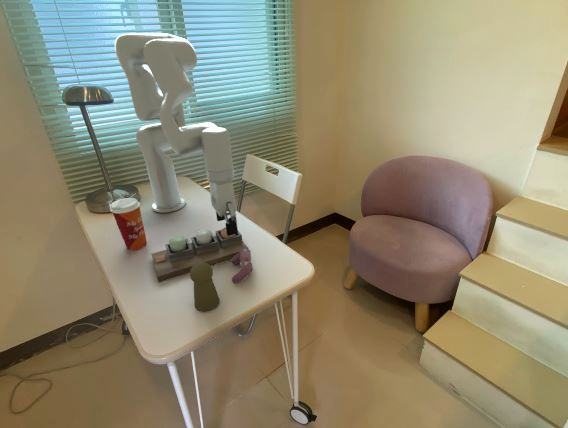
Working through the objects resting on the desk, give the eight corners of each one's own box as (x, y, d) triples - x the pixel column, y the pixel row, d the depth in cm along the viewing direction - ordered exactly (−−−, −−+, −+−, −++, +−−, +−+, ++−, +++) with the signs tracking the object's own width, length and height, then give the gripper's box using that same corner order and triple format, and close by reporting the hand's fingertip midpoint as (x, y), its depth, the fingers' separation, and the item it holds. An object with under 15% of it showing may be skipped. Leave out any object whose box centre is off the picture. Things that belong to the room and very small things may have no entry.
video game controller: (246, 287, 84) (256, 267, 81) (230, 283, 82) (240, 262, 80) (244, 265, 92) (253, 246, 90) (229, 261, 91) (238, 241, 88)
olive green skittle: (218, 311, 74) (212, 274, 69) (192, 313, 74) (184, 276, 69) (220, 293, 80) (215, 258, 74) (196, 295, 79) (189, 259, 74)
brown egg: (220, 237, 99) (218, 229, 97) (233, 233, 100) (232, 225, 99) (224, 244, 95) (223, 235, 94) (238, 240, 97) (237, 231, 95)
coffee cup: (140, 253, 97) (127, 209, 90) (117, 250, 98) (102, 208, 91) (155, 238, 104) (144, 197, 97) (133, 236, 105) (121, 195, 98)
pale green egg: (169, 246, 92) (167, 238, 91) (184, 242, 94) (183, 234, 92) (172, 254, 88) (170, 245, 87) (188, 249, 90) (186, 241, 89)
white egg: (195, 239, 95) (193, 231, 93) (209, 235, 97) (208, 227, 95) (198, 246, 91) (197, 238, 90) (213, 242, 93) (212, 234, 92)
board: (152, 259, 94) (149, 246, 91) (235, 235, 104) (234, 224, 102) (158, 282, 84) (154, 269, 82) (249, 254, 94) (247, 241, 92)
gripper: (199, 167, 93) (207, 217, 101) (216, 187, 79) (224, 243, 87) (223, 162, 96) (229, 212, 104) (243, 181, 82) (249, 236, 90)
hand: (227, 226), depth 96 cm, fingers open, 9 cm apart
